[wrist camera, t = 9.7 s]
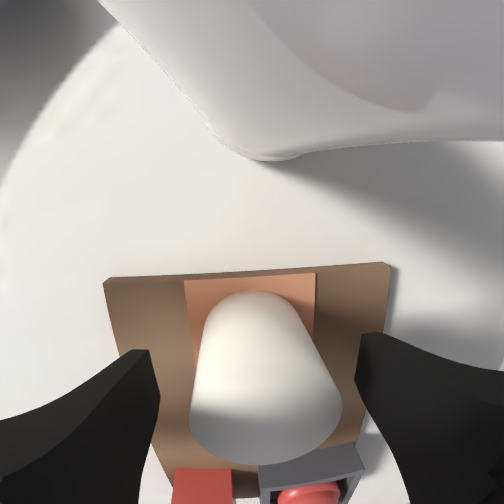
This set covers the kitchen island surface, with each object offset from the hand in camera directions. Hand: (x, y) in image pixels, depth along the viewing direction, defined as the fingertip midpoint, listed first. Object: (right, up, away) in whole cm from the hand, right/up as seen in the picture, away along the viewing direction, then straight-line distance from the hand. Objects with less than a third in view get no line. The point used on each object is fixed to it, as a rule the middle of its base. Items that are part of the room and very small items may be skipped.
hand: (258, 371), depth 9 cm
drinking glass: (0, +10, +1) cm, 10 cm away
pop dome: (+3, -11, +4) cm, 12 cm away
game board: (0, -5, +5) cm, 7 cm away
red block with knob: (-3, -11, +5) cm, 12 cm away
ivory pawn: (0, +1, +2) cm, 2 cm away
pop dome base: (+3, -11, +5) cm, 12 cm away
